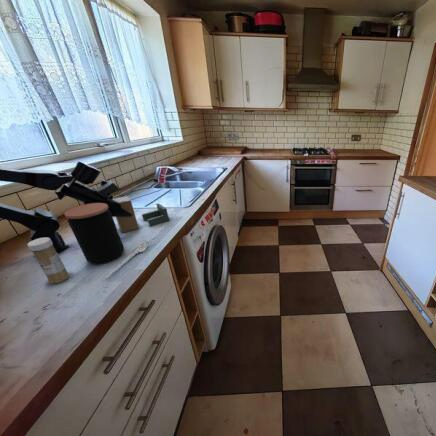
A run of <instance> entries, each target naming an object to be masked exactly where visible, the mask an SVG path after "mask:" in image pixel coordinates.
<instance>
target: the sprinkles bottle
mask: <svg viewBox="0 0 436 436" xmlns="http://www.w3.org/2000/svg"><path fill="white" fill-rule="evenodd" d="M52 244H53V243H52V241H51V239H50V238H47V237H45V238H39V239H35V240H33V241H29V242H28V243H27V245H26V246H27V248H28V250H29V251H30V252H32V254H33V255H34V257H35V259H36V261H37V263H38V265H39V267H40V268H41V270H42V272H43V274H44V275H45V276H46V278H47V280H48V283H50V284H59V283H61V282H64V281H65V280H67V279H68V278H69V277H70V273H69V272H68V271H67V269H66V268H65V267H66V266H65V265H64V263H63V261H62V259H61V257H60V255H59V253H57V252H56V250H55V248H54V246H53V245H52Z"/></svg>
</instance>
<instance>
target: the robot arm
mask: <svg viewBox="0 0 436 436" xmlns="http://www.w3.org/2000/svg"><path fill="white" fill-rule="evenodd" d="M75 164H76V165H75V166H74V167H73V169H72V171H67V172H66V171H65V172H64V171H63V172H57V171H55V170H51V169H16V168H8V167H1V166H0V182H6V183H16V184H21V185H22V184H23V185H27V186H29V187H33V188H38V189H41V190H45V191H54V194H55V195H56V196H57V198H58V200H60V201H61V200H63V199H64V197H65V196H66V197H69V198H71V199H74V200H76V201H79V202H81V203H83V205H85V204H91V203H105V204H107V205H108V209H107V210H109V211H110V212H111V215H112V217H113V218H116V217H131V216H132V214H131V213H129V212H128V211H126V210H125V209H123V208H121V204H120V203H119V202H117V201H115V200H113V199H114V196H113V195H112V194H113V193H115V192H117V191H119V190H120V187H119V186H117V185H116V184H115V183H114V181H112V180H108V181H107V180H104V179H102V180H101V181H99V184H100V186H99V187H98V188H95V187H89V186H88V185H90V184H91V185H93V184H94V183H95V181H96V180H97V179H98V177H99V176H100V174H101V173H102V170H100V169H98V168H96V167H95V166H92V165H91V164H88V163H85V162H83V161H81V160H78V161H77V162H76V163H75ZM58 189H59V190H58ZM110 199H111V200H110ZM0 219H2V220H6V221H9V222H14V223H17V224H20V225H21V226H23V227H25V228H27V229H29V230H30V234H29V235H30V240H31V241H33V240H35V239H39V238H45V237H47V238H50V239H51V241H52V243H53V244H52V245H53V246H54V248H55V250H56V252H57V253H58V254H59V253H60V252H63V251H64V250H66V249H67V248H68V247H70V245H69V244H66V243H65V240H64V238H63V237H62V235H61V234H60V233H59V232H58V230H59V229H60V227H61V226H60V222H59V221H60V220H59V217H58V216H57V215H55V214H54V213H53V212H52V211H51V210H44V209H42V208H40V207H35V208H34V210H29V209H28V210H26V209H22V208H20V207H15V206H11V205H8V204H4V203H1V202H0ZM31 241H30V242H31Z"/></svg>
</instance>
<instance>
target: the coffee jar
mask: <svg viewBox="0 0 436 436" xmlns="http://www.w3.org/2000/svg"><path fill="white" fill-rule="evenodd" d="M107 209H108V205H107V204H105V203H91V204H82V205H78V206H74V207H72V208H70V209H68V210H66V211H65V212H64V213H63V214H64V217H65V218H67V224H68V225H69V227H70V229H71V231H72V233H73V235H74V237H75V239H76V241H77V244H78V245H79V248H80V251H81V253H82V254H83V256H84V258H85V260H86V262H87V263H90V264H92V265H104V264H107V263H108V264H109V263H110V262H113V261H115V260H117V259H119V258H120V257H121V256H122V255H123V254H124V252H125V247H124V244H123V241H122V238H121V235H120V233H119V230H118V227H117V225H116V222H115V220H114V217H112V215H111V212H110V211H109V210H107Z"/></svg>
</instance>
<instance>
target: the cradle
mask: <svg viewBox="0 0 436 436" xmlns="http://www.w3.org/2000/svg"><path fill="white" fill-rule="evenodd" d="M155 205H156V209H155V210H152V211H148V212H145V213H142V214H141V217H142V219H143V221H147V223H148V226H149V227H153V226H156V225H159V224H163V223H165V222H168V221H170V217H169V213H168V210H167V207H165V206H164V205H162V204H160V203H159V202H158V203H155Z"/></svg>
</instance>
